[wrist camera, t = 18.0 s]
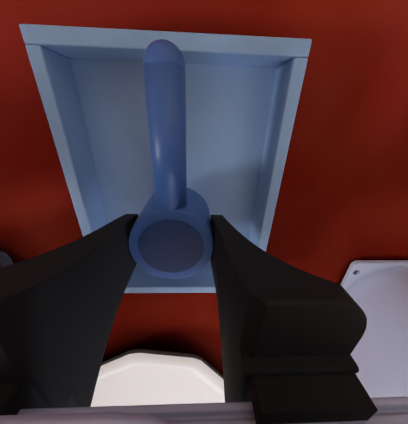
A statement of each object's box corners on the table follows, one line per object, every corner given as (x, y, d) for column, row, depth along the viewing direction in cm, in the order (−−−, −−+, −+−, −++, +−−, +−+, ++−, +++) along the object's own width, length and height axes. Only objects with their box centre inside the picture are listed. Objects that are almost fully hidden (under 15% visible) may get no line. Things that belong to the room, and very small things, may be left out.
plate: (-10, 397, 24) (-29, 422, 22) (174, 315, 18) (171, 339, 16) (138, 454, 36) (135, 474, 34) (282, 414, 30) (288, 436, 28)
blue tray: (248, 268, 16) (257, 292, 14) (113, 268, 16) (99, 293, 13) (286, 56, 10) (313, 38, 8) (60, 45, 9) (17, 22, 7)
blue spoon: (125, 58, 8) (87, 26, 5) (217, 62, 8) (228, 34, 6) (148, 242, 13) (133, 280, 10) (208, 243, 13) (212, 280, 10)
